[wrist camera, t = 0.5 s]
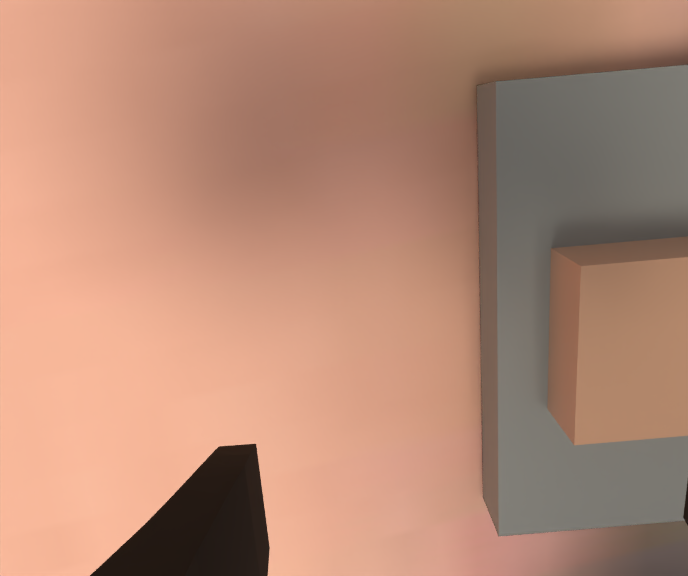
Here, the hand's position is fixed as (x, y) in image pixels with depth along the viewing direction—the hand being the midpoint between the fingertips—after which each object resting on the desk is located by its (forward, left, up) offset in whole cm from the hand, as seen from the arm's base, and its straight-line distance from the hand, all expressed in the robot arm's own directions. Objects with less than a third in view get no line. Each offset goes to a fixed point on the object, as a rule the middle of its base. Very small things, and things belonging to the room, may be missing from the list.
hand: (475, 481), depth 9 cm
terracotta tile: (-1, -6, -7) cm, 10 cm away
